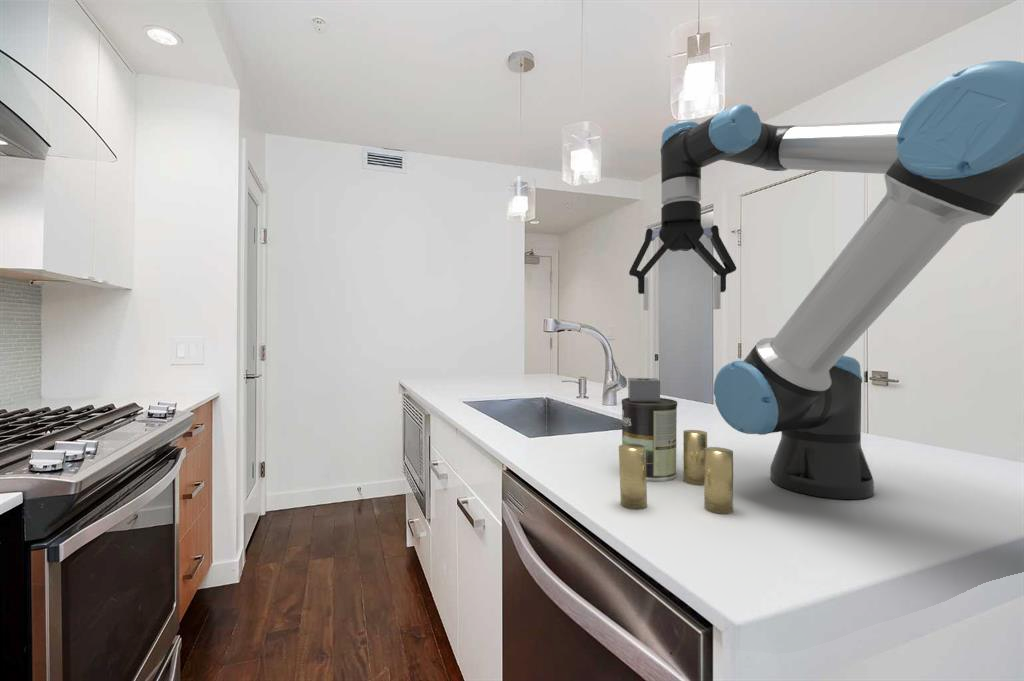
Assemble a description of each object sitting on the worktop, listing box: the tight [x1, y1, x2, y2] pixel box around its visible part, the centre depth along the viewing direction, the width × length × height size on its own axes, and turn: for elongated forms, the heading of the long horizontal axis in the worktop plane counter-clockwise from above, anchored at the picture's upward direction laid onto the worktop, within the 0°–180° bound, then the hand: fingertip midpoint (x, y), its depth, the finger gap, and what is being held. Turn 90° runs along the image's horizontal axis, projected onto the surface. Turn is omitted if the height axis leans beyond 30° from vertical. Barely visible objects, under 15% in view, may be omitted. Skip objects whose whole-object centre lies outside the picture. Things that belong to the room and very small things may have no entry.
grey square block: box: [627, 377, 661, 402], centre depth 90 cm, size 6×6×4 cm
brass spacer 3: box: [703, 446, 734, 515], centre depth 71 cm, size 4×4×9 cm
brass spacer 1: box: [618, 444, 648, 510], centre depth 72 cm, size 4×4×9 cm
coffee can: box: [621, 397, 678, 482], centre depth 89 cm, size 10×10×14 cm
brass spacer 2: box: [682, 429, 708, 486], centre depth 84 cm, size 4×4×9 cm
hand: (680, 309), depth 94 cm, fingers open, 13 cm apart
